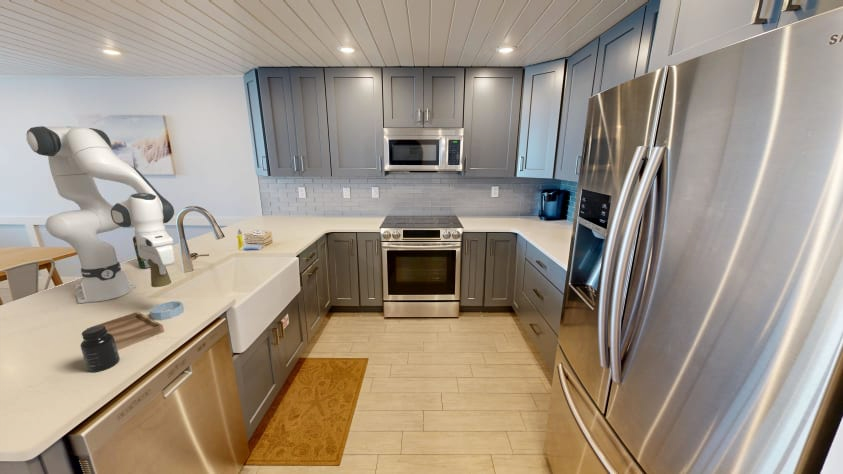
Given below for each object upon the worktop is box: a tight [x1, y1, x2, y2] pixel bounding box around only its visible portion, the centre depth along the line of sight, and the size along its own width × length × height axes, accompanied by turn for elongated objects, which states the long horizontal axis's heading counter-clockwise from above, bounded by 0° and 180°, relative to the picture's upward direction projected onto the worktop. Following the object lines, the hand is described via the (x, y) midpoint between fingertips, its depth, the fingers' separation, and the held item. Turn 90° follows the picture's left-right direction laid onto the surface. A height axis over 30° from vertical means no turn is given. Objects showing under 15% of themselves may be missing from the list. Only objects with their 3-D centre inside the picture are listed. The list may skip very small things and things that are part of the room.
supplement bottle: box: [79, 325, 121, 373], centre depth 90 cm, size 7×7×12 cm
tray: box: [86, 311, 165, 351], centre depth 108 cm, size 20×14×3 cm
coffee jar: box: [132, 235, 151, 270], centre depth 172 cm, size 10×8×19 cm
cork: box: [148, 259, 172, 288], centre depth 118 cm, size 6×6×11 cm
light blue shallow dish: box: [149, 300, 185, 321], centre depth 122 cm, size 10×10×3 cm
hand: (158, 272), depth 118 cm, fingers closed on cork, 4 cm apart
